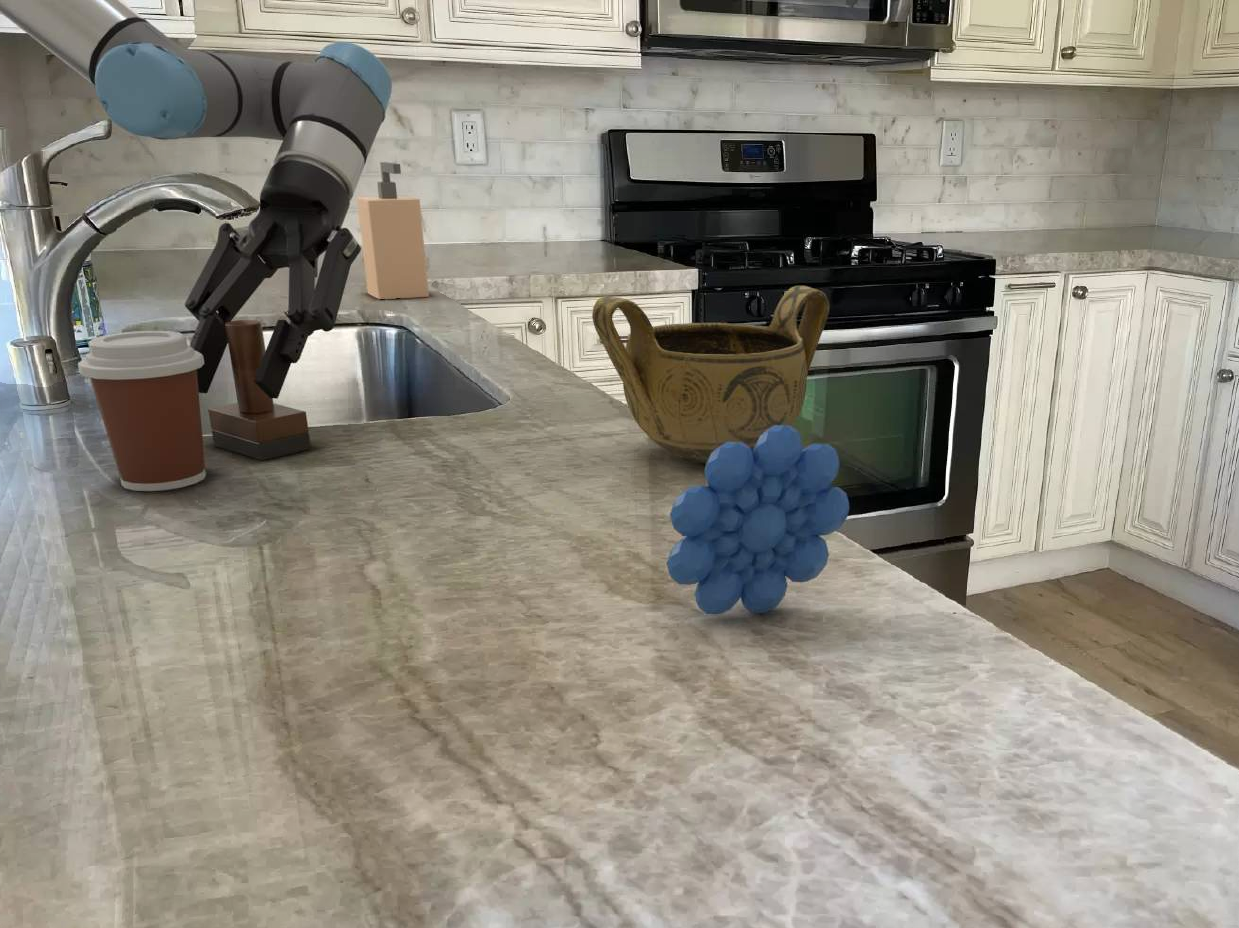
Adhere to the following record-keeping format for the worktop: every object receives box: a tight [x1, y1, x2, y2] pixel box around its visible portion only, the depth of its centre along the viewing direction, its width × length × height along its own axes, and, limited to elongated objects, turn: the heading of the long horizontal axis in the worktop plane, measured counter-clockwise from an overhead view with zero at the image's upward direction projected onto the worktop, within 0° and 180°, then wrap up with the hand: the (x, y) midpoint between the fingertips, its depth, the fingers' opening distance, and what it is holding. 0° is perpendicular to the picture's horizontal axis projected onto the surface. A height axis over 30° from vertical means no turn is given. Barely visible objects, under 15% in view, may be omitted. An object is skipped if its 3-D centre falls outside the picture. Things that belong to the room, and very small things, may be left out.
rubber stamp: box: [207, 319, 312, 461], centre depth 103 cm, size 8×5×12 cm, turn 54°
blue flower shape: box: [666, 425, 851, 616], centre depth 69 cm, size 12×7×12 cm, turn 108°
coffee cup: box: [77, 330, 207, 492], centre depth 93 cm, size 9×9×12 cm
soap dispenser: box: [356, 161, 430, 300], centre depth 192 cm, size 13×9×22 cm
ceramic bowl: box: [591, 285, 830, 465], centre depth 102 cm, size 22×17×15 cm
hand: (230, 387), depth 100 cm, fingers open, 6 cm apart
